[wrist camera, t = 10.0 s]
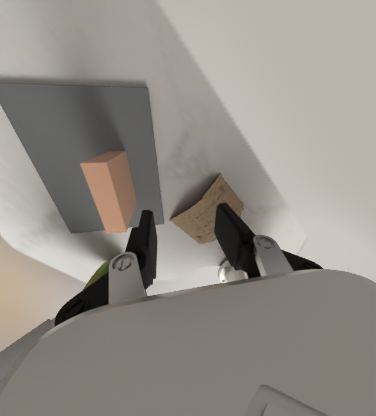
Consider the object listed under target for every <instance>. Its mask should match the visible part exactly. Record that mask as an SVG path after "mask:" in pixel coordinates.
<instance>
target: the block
mask: <svg viewBox="0 0 376 416" xmlns="http://www.w3.org/2000/svg"><path fill="white" fill-rule="evenodd" d="M80 165H81V168H82V170H83V173H84V176H85V178H86V181H87V183H88V186H89V189H90V191H91V194H92V196H93V199H94V202H95V204H96V207H97V209H98V212H99V215H100V217H101V220H102V222H103V225H104V228H105V230H106V233H107V234H111V233H120V232H127V229H128V226H129V223H130V221H131V218H132V215H133V212H134V209H135V206H136V203H137V200H136V195H135V191H134V186H133V181H132V177H131V172H130V167H129V163H128V158H127V154H126V151H109V152H106V153H104V154H101V155H99V156H97V157H94V158H92V159H89V160H87V161H85V162H82V163H80Z"/></svg>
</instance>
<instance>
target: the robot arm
mask: <svg viewBox="0 0 376 416" xmlns="http://www.w3.org/2000/svg"><path fill="white" fill-rule="evenodd" d="M214 233H215V236H216V238H217V240H218V242H219V244H220V246H221V248H222V250H223V252H224V254H225V256H226V257H227V259H228V260H226V261H225V262H224V263H223V264H222V265H221V267H220V269H219V271H218V277H219V280H220V281H221V283H220V284H214V285H208V286H203V287H197V288H192V289H186V290H180V291H175V292H169V293H164V294H158V295H152V296H147V293H146V289H147V288H148V287H149V286H150V285H152V284H153V279H156V261H157V234H156V228H155V222H154V215H153V211H150V209H149V210H142V214H141V218H140V222H139V226H138V227H133V228H132V230H131V234H130V237H129V240H128V244H127V247H126V250H125V252H124V253H121V254H119V255H117V256H116V257H114V258H113V259H112V260H111V262H110V264H109V271H108V272H107V273H106V274H104V275H103V276H102V277H100V278H99V279H98V280H96V281H95V282H94V283H92V284H91V285H90V286H88V287H87V288H85V289H84V290H83V291H81V292H80V293H79V294H77V295H76V296H75V297H73V298H72V299H71V300H69V301H68V302H67V303H66V304H65V305H64V306H63V307H62V308H61V309H60V311H59V312H58V314H57V316H56V317H55V318H54V319H52V320H50V319H48V320H47V321H45V322H43V323H42V324H41V325H39V326H38V327H36V328H35V329H33V330H32V331H31V332H29V333H27V334H26V335H24V336H23V337H22V338H20V339H19V340H17V341H16V342H14V343H13V344H12V345H10V346H9V347H7V348H6V349H4V350H3V351H1V352H0V416H376V283H375V282H373V281H371V280H369V279H367V278H365V277H363V276H359V275H356V274H352V273H349V272H344V271H338V270H329V269H323V268H322V267H321V266H319V265H318V264H316V263H315V262H312V261H310V260H307V259H305V258H302V257H299V256H297V255H294V254H291V253H289V252H286V251H283V250H281V249H280V247H279V246H278V244H277V243H276V241H275V240H273V239H272V238H270V237H268V236H264V235H257V236H255V234H254V233H253V232H252V231H251V230H250V229H249V227H248V226H247V225H246V224H245V223H244V222H243V221H242V220H241V218H240V217H239V216H238V215H237V214H236V213H235V212H234V211H233V209H232V208H231V207H230V206H229V205H228V204H227V203H219V205H217V208H216V217H215V227H214Z"/></svg>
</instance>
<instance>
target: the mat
mask: <svg viewBox="0 0 376 416" xmlns="http://www.w3.org/2000/svg"><path fill="white" fill-rule="evenodd" d="M0 104H1V106H2V108H3V110H4V112H5V113H6V115H7V117H8V119H9V121H10V123H11V124H12V126H13V128H14V130H15V132H16V134H17V135H18V137H19V139H20V141H21V143H22V145H23V146H24V148H25V150H26V152H27V154H28V155H29V157H30V159H31V161H32V163H33V165H34V166H35V168H36V170H37V172H38V174H39V176H40V177H41V179H42V181H43V183H44V185H45V187H46V188H47V190H48V192H49V194H50V196H51V198H52V199H53V201H54V203H55V205H56V207H57V208H58V210H59V212H60V214H61V216H62V218H63V219H64V221H65V223H66V225H67V227H68V229H69V230H70V232H71V234H72V233H81V232H91V231H100V230H105V228H104V225H103V222H102V220H101V217H100V215H99V212H98V209H97V207H96V204H95V202H94V199H93V196H92V194H91V191H90V189H89V186H88V183H87V181H86V178H85V176H84V173H83V170H82V168H81V165H80V163H82V162H85V161H87V160H89V159H92V158H94V157H97V156H99V155H101V154H104V153H106V152H109V151H126V154H127V158H128V163H129V167H130V172H131V177H132V181H133V186H134V191H135V195H136V200H137V203H136V206H135V209H134V212H133V215H132V218H131V221H130V223H129V226H128V228H129V227H138V226H139V222H140V218H141V214H142V210H149V209H150V211H153V215H154V222H155V225H158V224H164V220H163V211H162V203H161V194H160V186H159V177H158V169H157V160H156V152H155V144H154V135H153V127H152V118H151V110H150V101H149V93H148V88H144V87H109V86H74V85H39V84H4V83H0Z"/></svg>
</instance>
